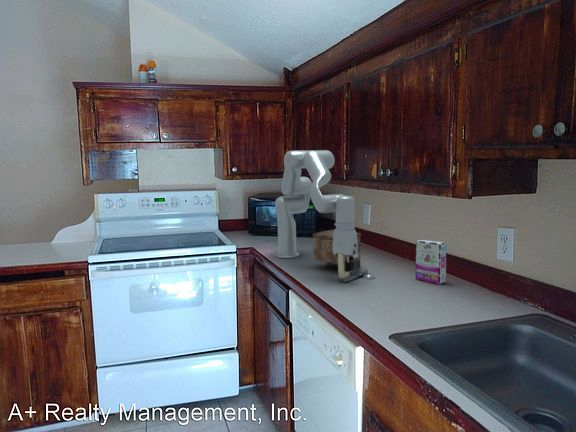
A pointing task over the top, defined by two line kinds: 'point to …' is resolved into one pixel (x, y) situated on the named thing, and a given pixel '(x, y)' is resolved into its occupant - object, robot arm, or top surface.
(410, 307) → the top surface
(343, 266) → the wood and grey l-block
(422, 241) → the candy bar box
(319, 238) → the cabinet
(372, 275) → the steel token
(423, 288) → the top surface
